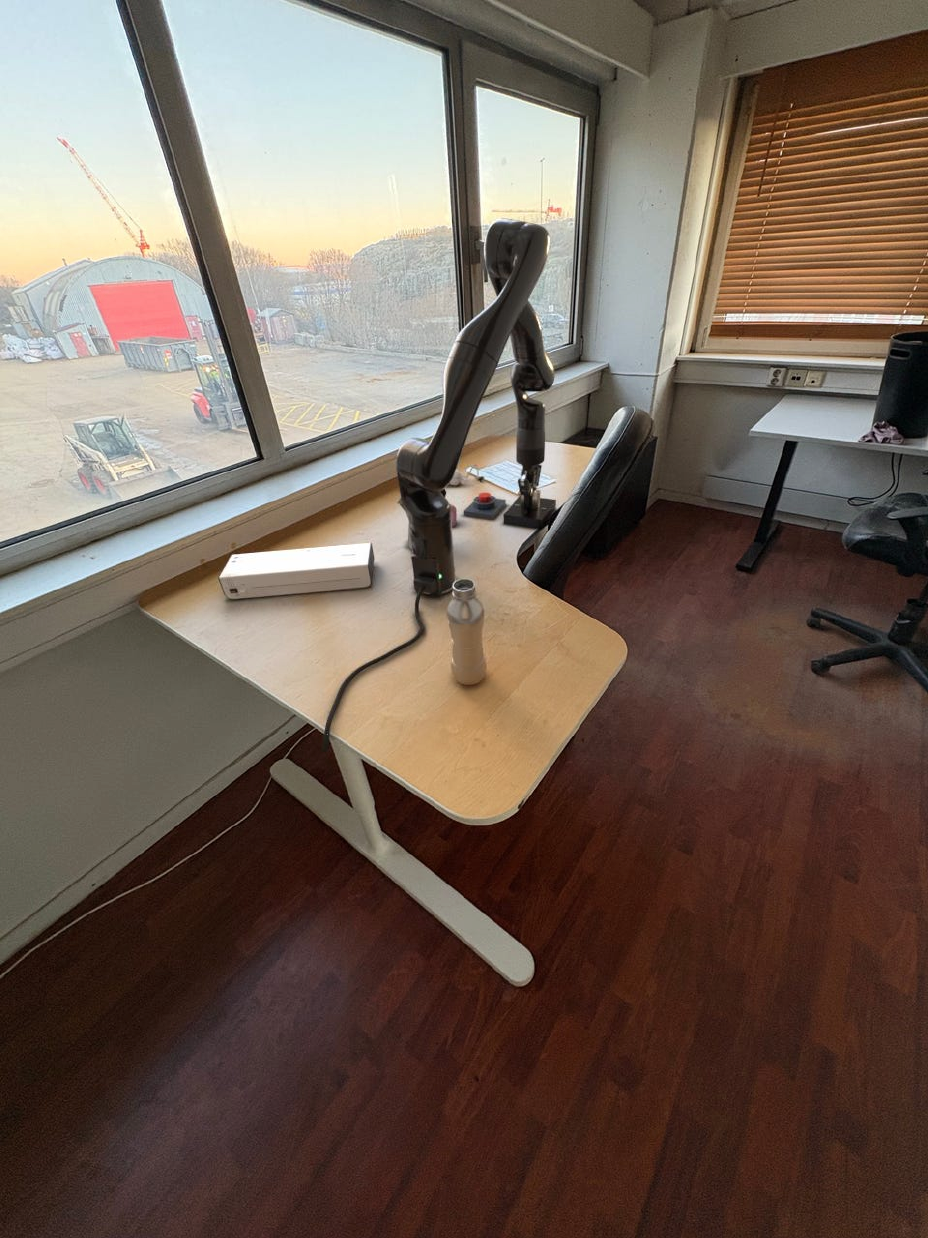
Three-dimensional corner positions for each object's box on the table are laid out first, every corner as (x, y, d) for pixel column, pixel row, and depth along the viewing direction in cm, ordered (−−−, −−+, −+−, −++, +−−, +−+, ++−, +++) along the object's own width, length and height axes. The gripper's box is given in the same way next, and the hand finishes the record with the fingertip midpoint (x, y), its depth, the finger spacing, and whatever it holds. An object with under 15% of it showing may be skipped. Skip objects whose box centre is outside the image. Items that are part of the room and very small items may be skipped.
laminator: (375, 564, 128) (371, 542, 124) (372, 590, 118) (368, 567, 114) (239, 575, 126) (231, 554, 123) (225, 603, 116) (216, 580, 113)
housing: (492, 520, 145) (492, 508, 143) (463, 516, 148) (463, 504, 146) (505, 505, 153) (505, 494, 150) (478, 501, 156) (478, 490, 154)
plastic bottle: (485, 663, 95) (482, 572, 83) (488, 689, 89) (485, 595, 78) (451, 665, 95) (443, 574, 83) (452, 691, 89) (443, 597, 78)
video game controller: (457, 526, 146) (457, 501, 145) (455, 526, 141) (455, 500, 140) (424, 526, 147) (423, 502, 146) (421, 526, 142) (420, 501, 141)
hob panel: (541, 529, 138) (541, 519, 136) (503, 524, 142) (503, 513, 140) (555, 509, 148) (556, 499, 146) (519, 504, 152) (520, 494, 150)
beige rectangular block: (539, 506, 143) (540, 489, 140) (537, 509, 142) (538, 492, 139) (523, 504, 145) (523, 487, 142) (520, 507, 143) (520, 490, 140)
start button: (488, 503, 146) (488, 497, 145) (476, 502, 148) (476, 496, 147) (492, 498, 149) (492, 493, 148) (481, 497, 150) (481, 491, 149)
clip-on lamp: (480, 482, 176) (429, 473, 175) (484, 464, 173) (432, 455, 171) (482, 492, 166) (428, 483, 164) (486, 473, 163) (430, 463, 161)
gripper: (536, 453, 127) (534, 517, 137) (552, 437, 137) (549, 497, 147) (508, 450, 129) (508, 513, 140) (525, 435, 139) (524, 494, 150)
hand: (529, 505), depth 143 cm, fingers closed on beige rectangular block, 2 cm apart
